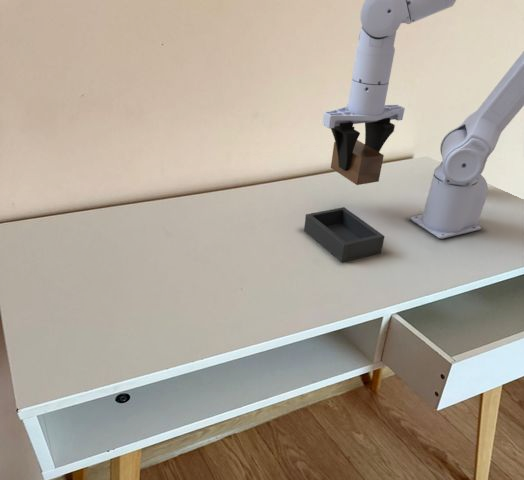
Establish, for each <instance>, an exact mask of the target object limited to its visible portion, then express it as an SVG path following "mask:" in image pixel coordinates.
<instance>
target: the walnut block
mask: <svg viewBox="0 0 524 480" xmlns="http://www.w3.org/2000/svg"><path fill="white" fill-rule="evenodd" d="M384 157H385V155H384V154H383V153H381V152H377V151H376V150H374V149H372V148H370V147H369V146H367V145H365V143H364V142H362V141H360V140H358V139H357V141H356V144H355V146H354V150H353V153H352V159H351V164H350V167H349V170H348V171H344V170H343V169H341V168H340V167H339V163H338V153H337V147H336V142H335V141H334V142H333V148H332V157H331V162H330V163H331V164H330V168H331V170H333V171H334V172H336V173H338V174H340V175H341V176H342V177H344V178H346V179H347V180H349V181H350V182H351V183H352V184H354V185H356V186H359V185H367V184H373V183H377V182H379V181H380V176H381V172H382V167H383V161H384Z"/></svg>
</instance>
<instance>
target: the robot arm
mask: <svg viewBox="0 0 524 480" xmlns="http://www.w3.org/2000/svg"><path fill="white" fill-rule="evenodd" d="M456 1H457V0H364V2H363V4H362V6H361V9H360V23H361V28H360V30H359V33H358V43H357V45H356V48H355V55H354V62H353V68H352V75H351V82H350V87H349V88H350V90H349V95H348V103H347V104H346V106H343V107H341V108H336V109H334V110H330V111H324V112H323V117H322V126H324V127H325V128H327V129H330V130H331V133H332V136H333V139H334V142H336V147H337V153H338V163H339V167H340V168H341V169H343V170H344V171H348V170H349V167H350V164H351V159H352V153H353V150H354V146H355V144H356V141H357V140H358V139H359V137H360V135H361V133H360V132H359V131H358V130H356V129H355V126H354V125H358V124H364V129H365V133H364V137H365V138H364V144H365V145H367V146H369V147H370V148H372V149H374V150H376V151H377V152H379V153H381V150H382V148H383V147H384V145H385V144H386V142H387V140H388V139H389V137H390V136H391V135H392V134H393V133H395V127H396V125H395V124H394V123H392V122H391V121H393V120H395V121H403V118H404V115H405V114H404V113H405V110H406V109H405V107H404V106H402V105H399V104H386V100H387V95H388V90H389V84H390V78H391V75H392V74H391V73H392V68H393V62H394V57H395V51H396V49H395V41H396V35H397V31H398V30H399V28H400V26H401V24H406V25H411V24H413V23H416V22H417V21H420V20H423V19H425V18H428V17H429V16H432V15H435V14H437V13H440V12H442V11H445V10H447V9H449V8H452V7H453V6H454V5H455V3H456ZM523 107H524V50H523V51H522V52H521V54H520V55H519V56H518V58H517V59H516V60H515V61H514V62H513V64H512V65H511V67H510V68H509V69H508V70H507V72H506V73H505V74H504V75H503V77H502V78H501V79H500V81H499V82H498V83H497V84H496V86H495V87H494V88H493V89H492V91H491V92H490V93H489V95H488V96H487V97H486V98H485V99H484V101H483V102H482V103H481V105H480V106H479V107H478V108H477V110H475V111H474V112H473V113H471V114H469V115H468V116H467V117H466V118H465V119H464V121H462V123H461V124H460V125H459V126H457V127H455V128H454V129H452V130H450V131H449V132H447V134H445V135H444V137H443V139H441V143H440V155H441V159H442V161H441V162H440V163H439V165H437V167H435V168H434V171H433V173H432V174H433V175H432V178H431V182H430V186H429V189H428V194H427V197H426V200H425V205H424V209H423V213H422V214H419V215H413V216H411V217H410V220H411V221H412V222H413V223H415V224H416V225H418V226H419V227H421V228H422V229H424V230H425V231H427V232H429V233H430V234H431V235H433V236H434V237H436V238H438V239H441V240H443V239H446V238H450V237H455V236H460V235H463V234H467V233H472V232H475V231H476V232H477V231H480V230H481V226H480V225H479V221H480V217H481V215H482V213H483V208H484V206H485V203H486V199H487V197H488V193H489V188H488V182H487V179H486V178H485V177H484V176H483V175H482V173H483V172H484V170H485V166H486V163H487V161H488V158H489V157H490V155H491V154H492V153H493V152H494V151H495V148H496V147H497V145H498V142H499V139H500V136H501V134H502V133H503V131H504V130H505V129H506V128H507V126H508V125H509V124H510V123H511V122H512V121H513V119H514V118H515V117H516V116H517V114H519V112H520V111H521V110H522V109H523ZM486 160H487V161H486Z"/></svg>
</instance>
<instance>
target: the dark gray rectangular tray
mask: <svg viewBox="0 0 524 480" xmlns="http://www.w3.org/2000/svg"><path fill="white" fill-rule="evenodd" d="M303 232H305V233H306V234H307V235H308V236H309V237H310V238H312V239H313V240H314V241H315V242H317V243H318V244H319V245H320V246H321V247H322V248H324V249H325V250H326V251H327V252H328V253H330V254H331V255H332V256H333V257H335V259H337V260H338V261H339V262H340V263H345V262H349V261H354V260H357V259H361V258H365V257H370V256H374V255H377V254H381V253H382V250H383V245H384V242H385V236H386V235H384V234H382V233H381V232H379V231H378V230H377V229H375V228H374V227H373V226H371V225H370V224H369V223H367V222H366V221H364V220H363V219H361V218H360V217H358V216H357V215H356V214H354V213H353V212H351V211H350V210H349V209H347V208H346V207H345V206H342V207H338V208H331V209H327V210H326V209H325V210H321V211H316V212H311V213H306V214H305V217H304V228H303Z"/></svg>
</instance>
